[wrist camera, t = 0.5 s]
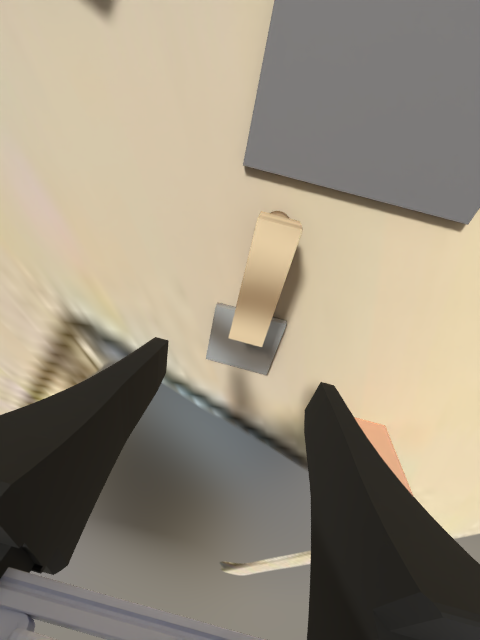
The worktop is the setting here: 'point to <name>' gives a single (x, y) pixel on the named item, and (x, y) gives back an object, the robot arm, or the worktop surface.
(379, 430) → the tile
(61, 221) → the worktop surface
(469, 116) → the mat
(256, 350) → the beige long bar
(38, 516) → the robot arm
